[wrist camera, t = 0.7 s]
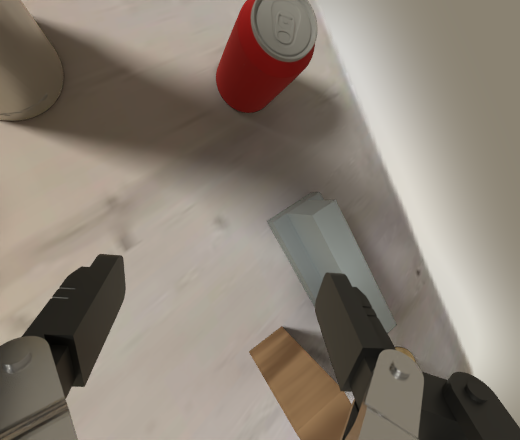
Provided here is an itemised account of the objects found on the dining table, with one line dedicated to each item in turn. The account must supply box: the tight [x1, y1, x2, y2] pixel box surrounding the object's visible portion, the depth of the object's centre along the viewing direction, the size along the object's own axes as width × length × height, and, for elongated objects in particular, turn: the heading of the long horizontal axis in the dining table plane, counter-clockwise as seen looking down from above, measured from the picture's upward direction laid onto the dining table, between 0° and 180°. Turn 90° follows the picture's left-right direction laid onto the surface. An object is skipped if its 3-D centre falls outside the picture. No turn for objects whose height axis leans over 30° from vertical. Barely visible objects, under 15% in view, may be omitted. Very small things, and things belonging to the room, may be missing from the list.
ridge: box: [267, 192, 397, 333], centre depth 33 cm, size 16×7×8 cm, turn 30°
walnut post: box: [249, 327, 351, 440], centre depth 30 cm, size 5×5×13 cm
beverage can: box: [216, 0, 317, 113], centre depth 27 cm, size 7×7×12 cm
